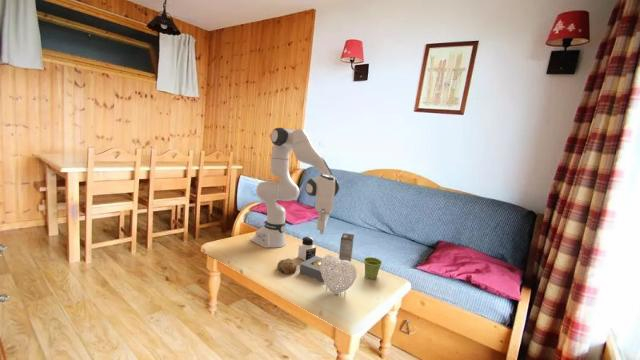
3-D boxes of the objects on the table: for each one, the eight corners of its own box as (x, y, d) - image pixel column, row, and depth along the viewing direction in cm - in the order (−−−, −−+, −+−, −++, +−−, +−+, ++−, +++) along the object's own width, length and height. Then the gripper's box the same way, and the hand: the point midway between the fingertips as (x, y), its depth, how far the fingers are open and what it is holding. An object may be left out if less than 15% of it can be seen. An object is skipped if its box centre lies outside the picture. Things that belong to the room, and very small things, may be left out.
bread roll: (274, 276, 161) (272, 266, 157) (283, 262, 169) (281, 251, 165) (292, 281, 158) (290, 271, 154) (300, 266, 166) (298, 255, 162)
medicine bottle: (305, 261, 174) (307, 241, 172) (297, 256, 179) (299, 236, 178) (315, 258, 179) (317, 238, 177) (307, 254, 184) (309, 234, 182)
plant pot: (383, 277, 163) (385, 262, 162) (373, 282, 157) (375, 266, 155) (369, 270, 170) (370, 255, 168) (358, 275, 163) (360, 259, 162)
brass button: (310, 269, 161) (311, 263, 160) (316, 265, 166) (317, 259, 165) (320, 273, 158) (321, 266, 157) (326, 269, 163) (327, 262, 162)
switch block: (299, 273, 160) (300, 263, 159) (314, 264, 172) (315, 255, 171) (322, 282, 153) (323, 272, 152) (336, 272, 165) (337, 263, 164)
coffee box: (340, 259, 182) (343, 232, 179) (351, 261, 181) (354, 234, 178) (337, 265, 173) (340, 237, 170) (349, 267, 172) (352, 239, 169)
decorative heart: (312, 290, 144) (316, 255, 142) (326, 282, 153) (329, 249, 150) (345, 306, 134) (350, 268, 131) (358, 296, 142) (362, 261, 140)
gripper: (328, 213, 146) (325, 241, 149) (332, 202, 166) (329, 227, 169) (315, 211, 147) (312, 239, 149) (320, 201, 167) (318, 226, 169)
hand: (321, 233), depth 159 cm, fingers closed
